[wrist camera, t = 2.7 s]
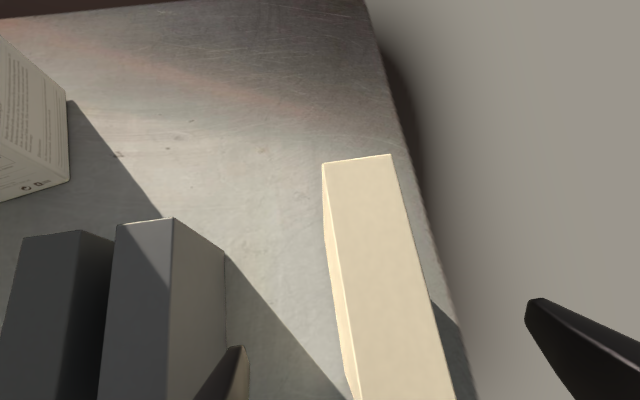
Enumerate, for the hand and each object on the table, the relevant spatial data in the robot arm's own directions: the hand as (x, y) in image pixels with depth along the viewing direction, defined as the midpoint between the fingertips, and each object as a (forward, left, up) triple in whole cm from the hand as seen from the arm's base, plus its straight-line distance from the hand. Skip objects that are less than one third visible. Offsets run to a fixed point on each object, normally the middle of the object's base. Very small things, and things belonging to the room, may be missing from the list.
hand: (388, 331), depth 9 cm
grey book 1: (+3, +9, -9) cm, 13 cm away
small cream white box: (+2, 0, -9) cm, 9 cm away
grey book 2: (+4, +13, -9) cm, 16 cm away
